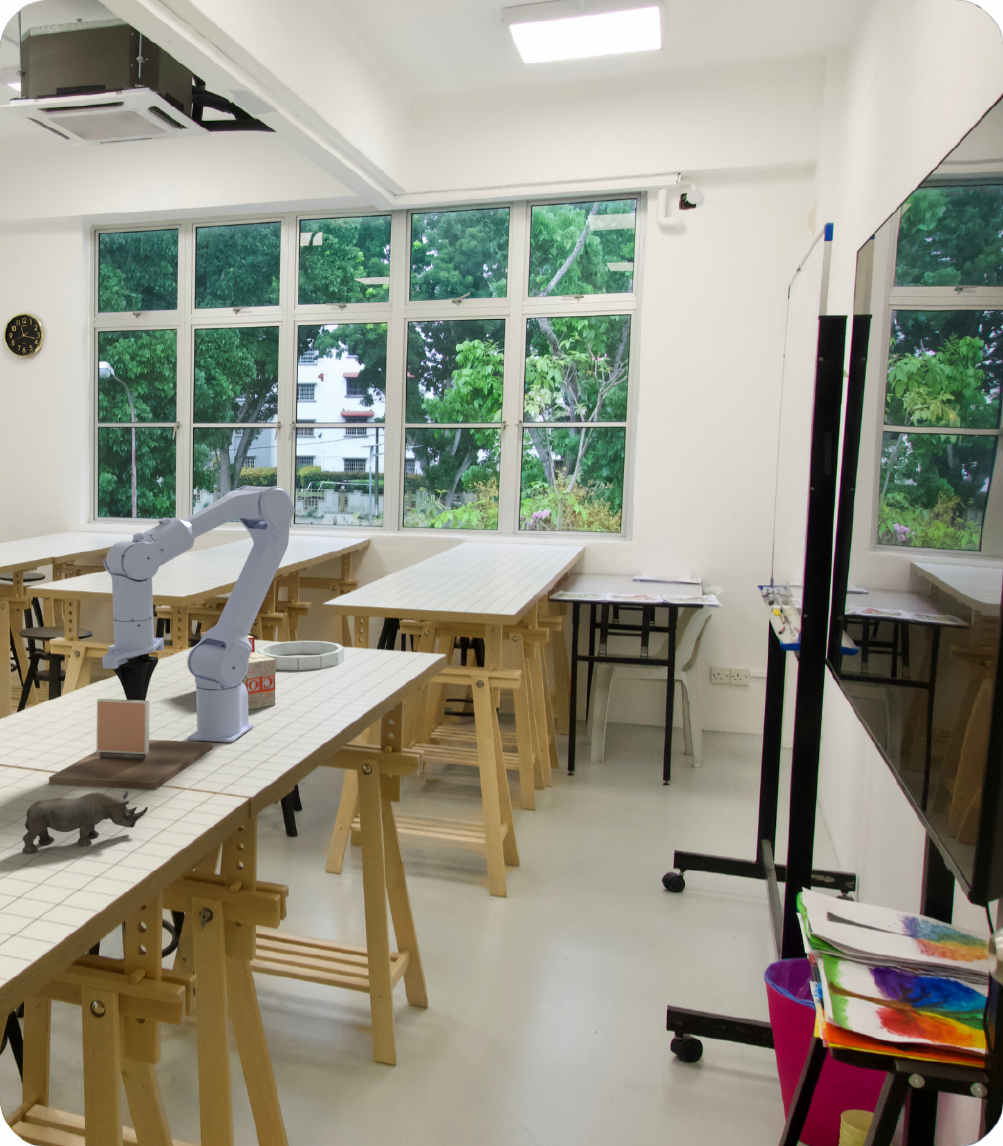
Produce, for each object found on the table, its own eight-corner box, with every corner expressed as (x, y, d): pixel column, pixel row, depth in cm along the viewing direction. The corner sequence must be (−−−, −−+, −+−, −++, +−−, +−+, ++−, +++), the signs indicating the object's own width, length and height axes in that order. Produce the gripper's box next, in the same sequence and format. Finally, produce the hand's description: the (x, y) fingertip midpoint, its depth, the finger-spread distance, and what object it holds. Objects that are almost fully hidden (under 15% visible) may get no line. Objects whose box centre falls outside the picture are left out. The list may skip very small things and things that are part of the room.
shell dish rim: (277, 651, 215) (276, 639, 215) (352, 654, 213) (352, 642, 213) (245, 668, 196) (245, 655, 196) (328, 671, 194) (328, 658, 194)
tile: (100, 698, 131) (96, 699, 130) (149, 700, 130) (146, 701, 129) (99, 750, 131) (96, 751, 130) (148, 752, 130) (145, 754, 129)
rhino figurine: (149, 838, 104) (147, 791, 104) (21, 857, 99) (18, 807, 98) (148, 825, 108) (146, 780, 107) (25, 843, 103) (22, 795, 102)
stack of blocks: (276, 705, 165) (275, 643, 164) (246, 711, 161) (244, 647, 160) (230, 684, 181) (229, 627, 180) (201, 689, 177) (200, 631, 176)
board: (119, 744, 140) (119, 732, 140) (212, 748, 139) (212, 736, 138) (49, 783, 122) (48, 770, 122) (155, 789, 120) (154, 776, 120)
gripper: (133, 610, 140) (136, 691, 141) (81, 625, 125) (85, 715, 127) (174, 611, 139) (177, 693, 141) (127, 627, 125) (130, 717, 126)
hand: (136, 703), depth 134 cm, fingers closed
